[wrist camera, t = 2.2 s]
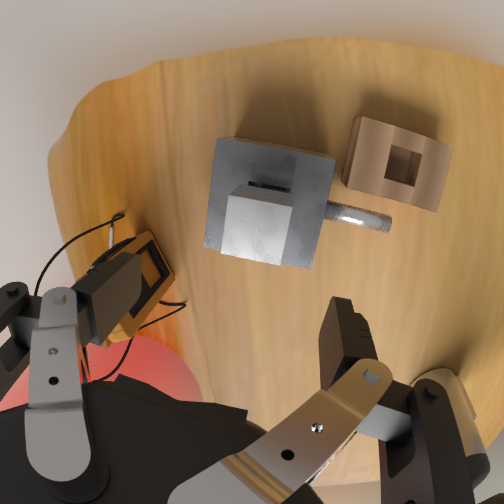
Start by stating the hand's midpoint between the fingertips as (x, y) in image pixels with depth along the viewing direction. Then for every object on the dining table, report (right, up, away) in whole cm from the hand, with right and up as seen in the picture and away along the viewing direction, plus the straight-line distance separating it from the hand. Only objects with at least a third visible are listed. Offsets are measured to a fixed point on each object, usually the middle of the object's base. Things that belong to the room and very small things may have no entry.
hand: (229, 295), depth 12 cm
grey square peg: (+3, +8, +18) cm, 20 cm away
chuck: (+7, +8, +20) cm, 22 cm away
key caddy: (+16, +11, +17) cm, 26 cm away
